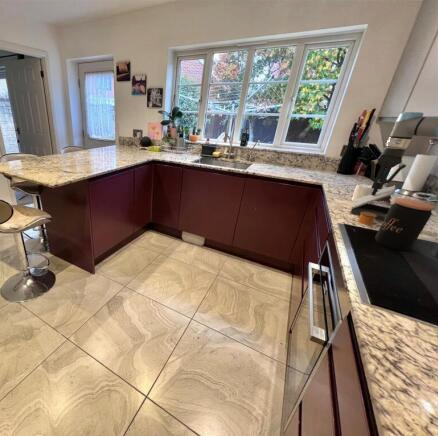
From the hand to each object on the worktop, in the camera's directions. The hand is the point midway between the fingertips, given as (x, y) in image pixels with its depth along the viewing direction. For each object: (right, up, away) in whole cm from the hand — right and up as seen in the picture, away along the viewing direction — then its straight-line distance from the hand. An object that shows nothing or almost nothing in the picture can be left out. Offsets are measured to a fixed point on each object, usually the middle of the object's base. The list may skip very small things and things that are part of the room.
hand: (373, 194), depth 120 cm
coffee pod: (-13, -15, -9) cm, 21 cm away
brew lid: (+1, -1, 0) cm, 2 cm away
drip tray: (+1, -10, +3) cm, 11 cm away
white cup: (+11, -2, +21) cm, 24 cm away
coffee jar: (-18, -23, -26) cm, 39 cm away
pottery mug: (+24, -3, +22) cm, 32 cm away
